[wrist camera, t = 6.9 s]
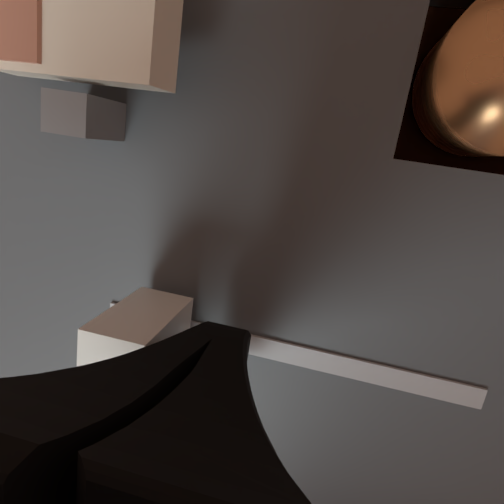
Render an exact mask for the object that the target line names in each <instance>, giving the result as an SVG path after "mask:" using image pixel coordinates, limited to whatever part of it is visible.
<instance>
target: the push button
mask: <svg viewBox="0 0 504 504" xmlns="http://www.w3.org/2000/svg"><path fill="white" fill-rule="evenodd" d="M412 107H413V113H414V117H415V119H416V122H417V125H418V126H419V128H420V130H421V132H422V133H423V134H424V135H425V137H426V138H427V139H428V140H429V141H430V142H431V143H432V144H434V145H435V146H437V147H438V148H440V149H442V150H444V151H446V152H448V153H451V154H454V155H459V156H467V157H494V156H504V0H476V1H475V2H474V3H472V5H471V6H470V7H469V8H468V9H467V10H466V11H465V12H464V13H463V14H462V15H461V16H460V18H459V19H458V20H457V21H456V22H455V23H454V24H453V25H452V27H451V28H450V29H449V30H448V31H447V32H446V33H445V35H444V36H443V37H442V38H441V39H440V40H439V41H438V43H437V44H436V45H435V46H434V47H433V48H432V49H431V50H430V52H429V53H428V54H427V56H426V57H425V59H424V60H423V62H422V64H421V65H420V67H419V70H418V72H417V74H416V77H415V81H414V85H413V90H412Z"/></svg>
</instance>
